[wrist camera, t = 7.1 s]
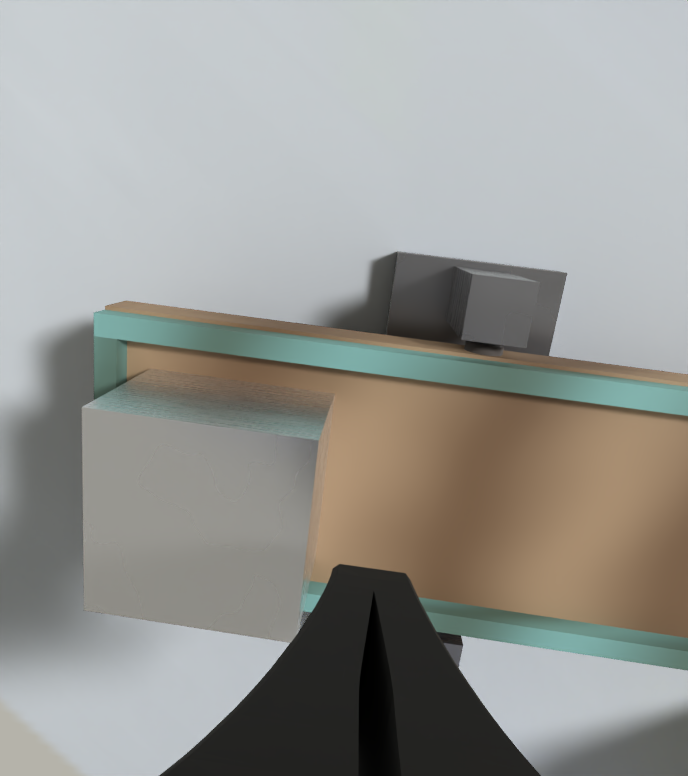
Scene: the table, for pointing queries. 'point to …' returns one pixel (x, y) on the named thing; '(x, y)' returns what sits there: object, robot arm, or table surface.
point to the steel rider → (203, 501)
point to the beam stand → (474, 313)
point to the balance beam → (470, 472)
